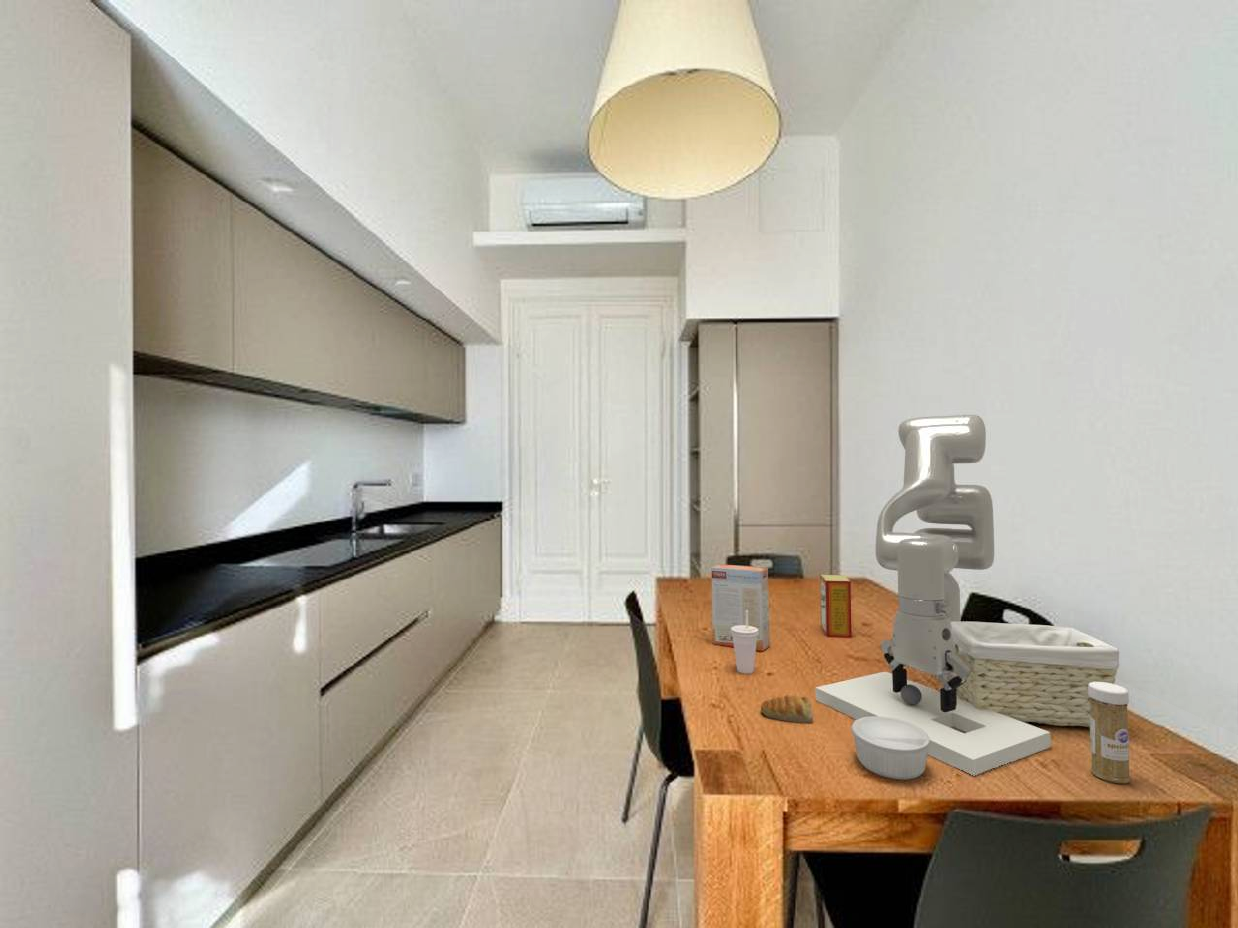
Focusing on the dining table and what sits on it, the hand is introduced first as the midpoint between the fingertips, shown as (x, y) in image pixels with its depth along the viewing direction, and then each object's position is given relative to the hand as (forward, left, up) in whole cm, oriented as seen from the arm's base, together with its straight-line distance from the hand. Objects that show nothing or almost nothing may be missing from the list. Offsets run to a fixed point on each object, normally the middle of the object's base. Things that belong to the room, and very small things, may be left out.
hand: (923, 700), depth 103 cm
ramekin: (+18, +7, -4) cm, 20 cm away
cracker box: (+1, -53, -4) cm, 53 cm away
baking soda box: (-30, -50, -4) cm, 58 cm away
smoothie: (+12, -37, -4) cm, 39 cm away
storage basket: (-21, +5, -4) cm, 22 cm away
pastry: (+19, -13, -4) cm, 24 cm away
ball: (0, -2, 0) cm, 2 cm away
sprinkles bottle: (-8, +24, -4) cm, 26 cm away
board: (0, -1, -4) cm, 4 cm away
